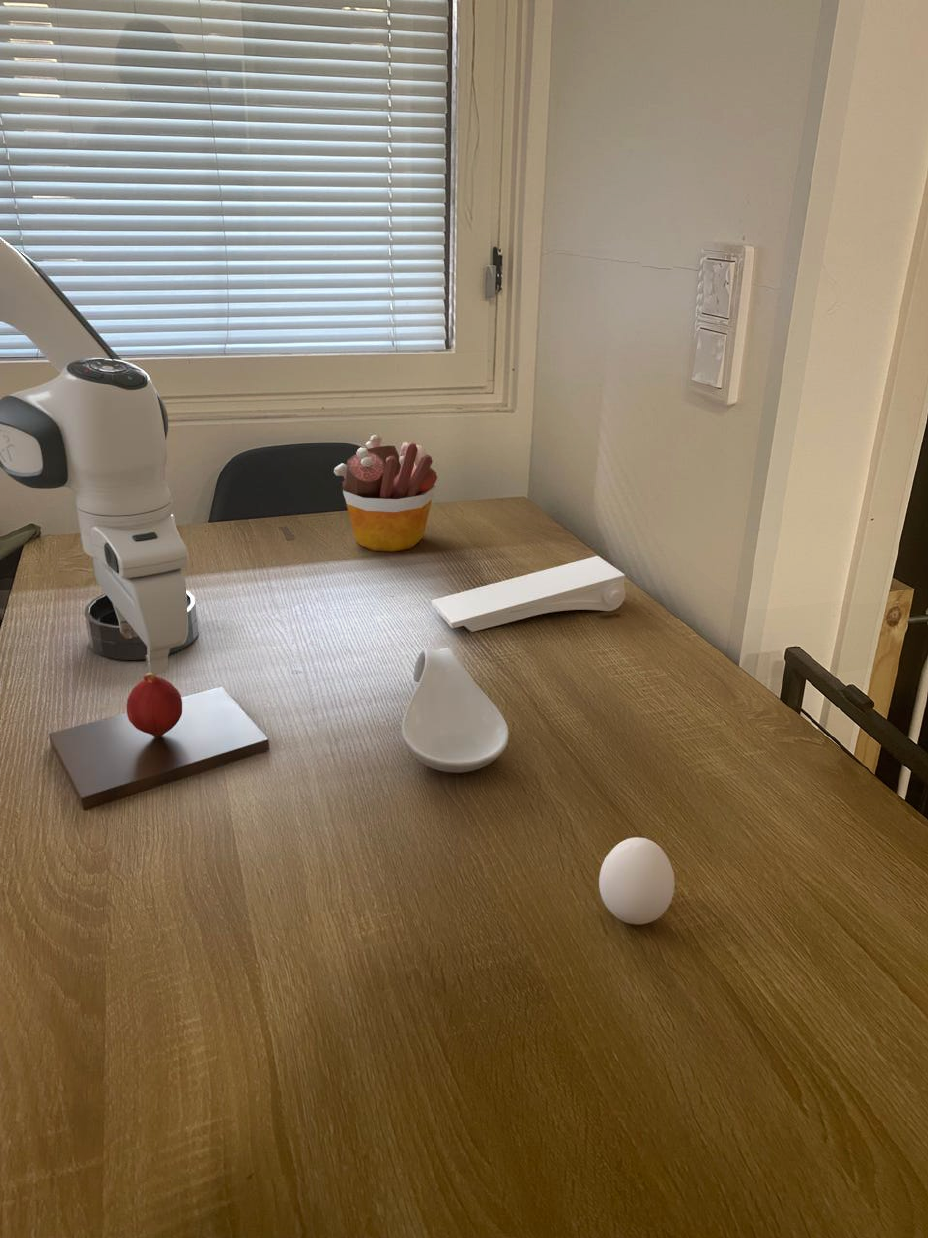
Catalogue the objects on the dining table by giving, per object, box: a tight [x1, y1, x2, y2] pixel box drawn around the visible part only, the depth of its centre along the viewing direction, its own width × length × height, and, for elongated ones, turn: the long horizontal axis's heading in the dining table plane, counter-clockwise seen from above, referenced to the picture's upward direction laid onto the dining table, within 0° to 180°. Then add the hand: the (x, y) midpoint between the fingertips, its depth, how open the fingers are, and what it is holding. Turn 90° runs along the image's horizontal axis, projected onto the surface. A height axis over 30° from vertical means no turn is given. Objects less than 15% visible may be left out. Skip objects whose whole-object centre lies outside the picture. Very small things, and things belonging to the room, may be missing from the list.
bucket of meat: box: [333, 434, 438, 552], centre depth 158 cm, size 20×16×20 cm
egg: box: [598, 836, 676, 926], centre depth 78 cm, size 6×6×8 cm
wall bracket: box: [431, 555, 627, 633], centre depth 137 cm, size 10×7×28 cm
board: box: [48, 686, 270, 811], centre depth 101 cm, size 20×14×2 cm
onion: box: [126, 672, 182, 737], centre depth 99 cm, size 6×6×8 cm
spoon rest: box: [401, 647, 510, 774], centre depth 105 cm, size 24×12×7 cm, turn 11°
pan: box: [84, 589, 199, 661], centre depth 125 cm, size 14×14×5 cm
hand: (143, 652), depth 96 cm, fingers open, 8 cm apart
